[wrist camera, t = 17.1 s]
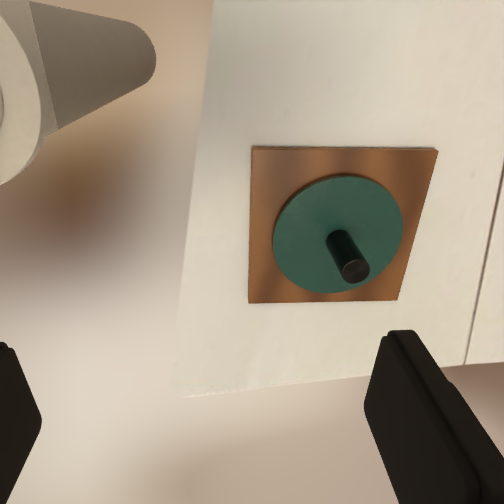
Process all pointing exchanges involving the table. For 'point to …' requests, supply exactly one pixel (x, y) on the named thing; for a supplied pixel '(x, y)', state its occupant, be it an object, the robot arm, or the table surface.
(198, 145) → the table surface
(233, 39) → the table surface
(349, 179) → the pot lid
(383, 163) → the square wooden board
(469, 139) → the table surface
